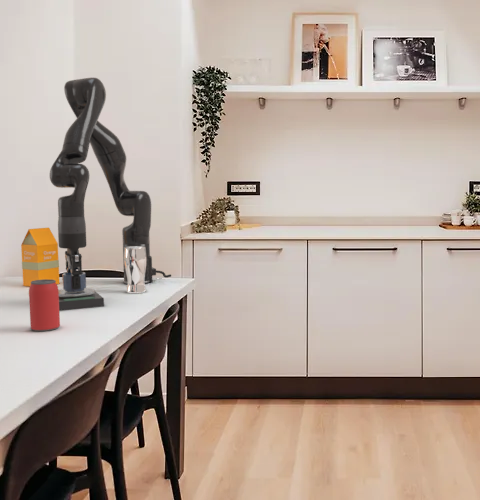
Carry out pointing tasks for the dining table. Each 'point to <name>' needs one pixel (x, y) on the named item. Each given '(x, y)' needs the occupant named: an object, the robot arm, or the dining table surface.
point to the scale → (81, 302)
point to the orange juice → (39, 256)
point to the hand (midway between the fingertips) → (74, 287)
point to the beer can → (44, 305)
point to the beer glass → (135, 268)
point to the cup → (68, 282)
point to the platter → (76, 293)
